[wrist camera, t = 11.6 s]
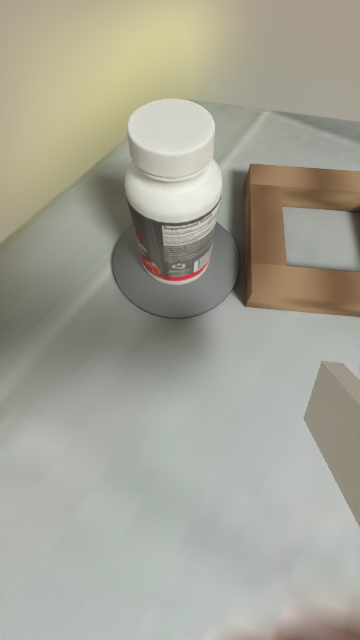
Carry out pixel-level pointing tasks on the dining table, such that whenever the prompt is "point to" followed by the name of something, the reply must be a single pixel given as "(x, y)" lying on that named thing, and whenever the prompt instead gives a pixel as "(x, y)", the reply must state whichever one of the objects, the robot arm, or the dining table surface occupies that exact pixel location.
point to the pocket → (269, 242)
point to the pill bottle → (173, 188)
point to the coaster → (177, 297)
